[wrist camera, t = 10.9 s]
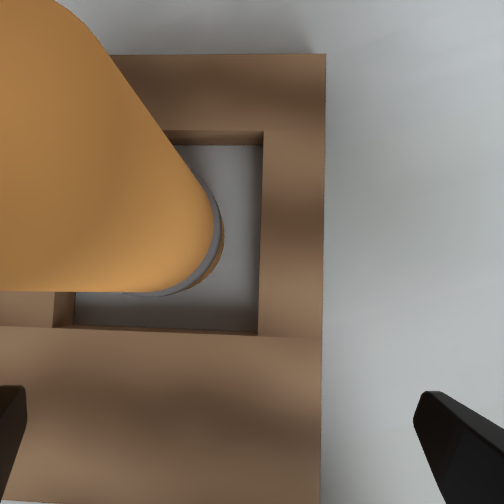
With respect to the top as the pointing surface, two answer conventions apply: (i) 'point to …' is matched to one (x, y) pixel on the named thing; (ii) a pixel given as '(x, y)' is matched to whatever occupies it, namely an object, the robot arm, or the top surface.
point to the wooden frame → (192, 340)
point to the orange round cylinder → (90, 171)
